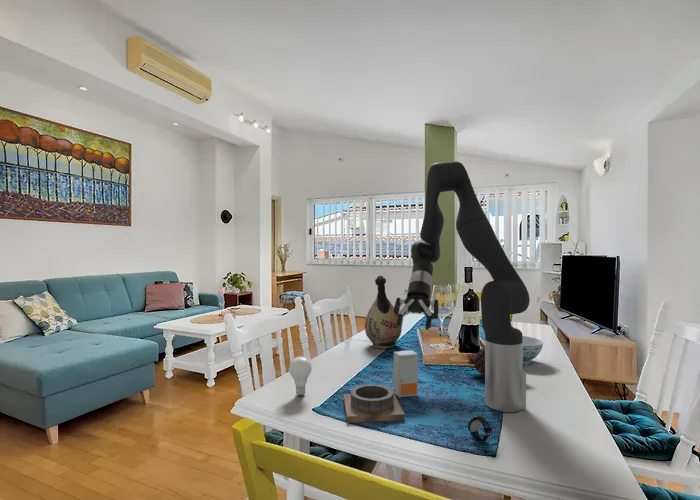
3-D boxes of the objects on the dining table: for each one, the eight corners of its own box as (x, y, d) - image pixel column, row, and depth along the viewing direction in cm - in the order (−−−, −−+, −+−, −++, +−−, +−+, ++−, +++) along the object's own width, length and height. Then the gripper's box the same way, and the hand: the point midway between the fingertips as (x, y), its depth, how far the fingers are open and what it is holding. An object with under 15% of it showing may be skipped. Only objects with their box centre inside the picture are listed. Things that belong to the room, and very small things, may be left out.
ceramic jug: (364, 341, 170) (364, 273, 169) (399, 341, 169) (399, 273, 169) (364, 352, 153) (364, 276, 152) (403, 352, 152) (403, 276, 152)
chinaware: (498, 365, 135) (498, 343, 135) (497, 353, 149) (497, 334, 149) (546, 369, 130) (546, 347, 130) (539, 357, 144) (539, 336, 144)
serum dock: (393, 397, 108) (393, 381, 108) (404, 420, 94) (404, 401, 94) (343, 399, 107) (343, 383, 106) (347, 422, 93) (347, 404, 92)
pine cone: (525, 377, 123) (525, 346, 123) (520, 387, 114) (520, 354, 114) (469, 368, 132) (469, 339, 132) (461, 376, 124) (461, 345, 124)
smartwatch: (483, 434, 86) (483, 412, 86) (492, 446, 81) (492, 423, 81) (465, 435, 86) (465, 413, 86) (473, 447, 81) (473, 423, 81)
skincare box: (398, 398, 107) (398, 355, 107) (393, 392, 111) (393, 351, 111) (418, 395, 109) (418, 353, 108) (412, 390, 113) (412, 349, 113)
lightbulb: (284, 397, 108) (284, 358, 108) (298, 389, 114) (297, 352, 114) (303, 401, 105) (303, 361, 105) (316, 393, 111) (315, 355, 111)
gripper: (397, 279, 131) (389, 319, 121) (440, 280, 126) (435, 322, 116) (401, 292, 136) (393, 332, 126) (442, 294, 131) (437, 335, 121)
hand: (413, 327), depth 121 cm, fingers open, 8 cm apart
